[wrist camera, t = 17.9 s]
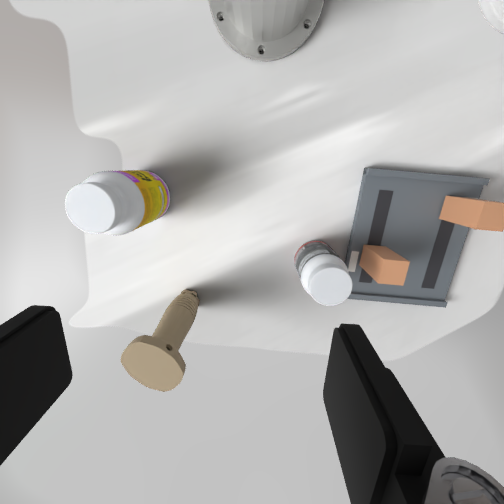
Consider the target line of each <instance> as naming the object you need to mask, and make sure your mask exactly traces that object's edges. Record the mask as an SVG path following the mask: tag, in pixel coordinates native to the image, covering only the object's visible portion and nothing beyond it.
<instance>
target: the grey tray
mask: <svg viewBox="0 0 504 504" xmlns="http://www.w3.org/2000/svg"><path fill="white" fill-rule="evenodd" d="M488 182H489V179H488V178H477V177H466V176H454V175H443V174H431V173H420V172H409V171H397V170H386V169H375V168H364V172H363V177H362V182H361V187H360V192H359V197H358V202H357V207H356V212H355V217H354V222H353V227H352V232H351V237H350V242H349V247H348V252H347V256H346V261H345V265H346V266H347V269H348V272H349V275H350V277H351V279H352V284H353V287H352V291H351V294H350V295H349V297H348V298H347V299H357V300H368V301H379V302H391V303H402V304H413V305H425V306H436V307H446V305H447V302H446V301H445V298H446V295H447V292H448V289H449V286H450V283H451V280H452V277H453V274H454V271H455V268H456V265H457V262H458V259H459V256H460V254H461V251H462V248H463V245H464V242H465V239H466V236H467V233H468V230H469V227H466V226H463V225H459V224H455V223H452V222H448V221H445V220H441V219H439V217H440V214H441V210H442V207H443V204H444V200H445V197H446V196H456V197H467V198H475V199H479V197H480V194H481V191H482V188H483V185H488ZM363 245H375V246H386V247H387V248H389V249H391V250H392V251H394V252H395V253H397V254H399V255H400V256H402V257H403V258H405V259H407V260H408V261H410V264H409V267H408V271H407V274H406V278H405V282H404V285H403V286H401V285H390V284H379V283H377V282H376V281H375V280H374V279H373V278H372V277H371V276H370V275H369V274H368V273H367V272H366V271H365V270H364V269H363V268H362V267H361V266H360V265H359V263H360V259H361V254H362V250H363Z"/></svg>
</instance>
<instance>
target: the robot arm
mask: <svg viewBox="0 0 504 504" xmlns="http://www.w3.org/2000/svg"><path fill="white" fill-rule="evenodd" d="M323 3H324V0H209V5H210V10H211V13H212V16H213V20H214V22H215V24H216V27H217V29H218V31H219V33H220V34H221V36H222V37H223V38H224V40H225V41H226V43H227V44H228V45H229V46H230V47H231V48H233V49H234V50H235V51H236V52H238V53H239V54H241V55H242V56H244V57H247V58H250V59H252V60H257V61H274V60H277V59H280V58H284V57H285V56H287V55H289V54H291V53H293V52H294V51H295V50H296V49H298V48H299V47H300V46H301V45H302V44H303V43H304V42H305V41H306V39H307V38H308V37H309V36H310V34H311V33H312V31H313V29H314V27H315V26H316V24H317V21H318V19H319V16H320V14H321V10H322V7H323ZM221 18H222V19H224V20H223V21H219V20H220V19H221ZM304 26H308V29H306V28H304ZM260 51H263V52H264V53H263V54H260V53H259V52H260ZM71 380H72V370H71V365H70V360H69V355H68V350H67V346H66V341H65V336H64V332H63V327H62V323H61V318H60V314H59V312H57V311H56V310H55V308H54V307H51V306H37V305H34V306H30V307H28V308H27V309H25V310H24V311H22V312H20V313H19V314H17V315H16V316H14V317H13V318H11V319H9V320H8V321H6V322H5V323H3V324H2V325H0V465H1V464H2V463H3V462H4V461H5V460H6V458H7V457H8V456H9V455H10V454H11V452H12V451H13V450H14V449H15V448H16V447H17V445H18V444H19V443H20V442H21V440H23V438H24V437H25V436H26V435H27V434H28V433H29V431H30V430H31V429H32V428H33V427H34V426H35V424H36V423H37V422H38V421H39V420H40V418H41V417H42V416H43V415H44V414H45V413H46V411H47V410H48V409H49V408H50V406H52V404H53V403H54V402H55V401H56V400H57V399H58V397H59V396H60V395H61V394H62V393H63V392H64V390H65V389H66V388H67V387H68V386H69V384H70V382H71ZM323 398H324V403H325V407H326V411H327V415H328V418H329V422H330V426H331V430H332V434H333V437H334V441H335V445H336V448H337V453H338V456H339V460H340V464H341V468H342V472H343V475H344V479H345V483H346V487H347V490H348V494H349V498H350V502H351V504H504V487H503V486H502V485H501V484H500V483H499V482H498V481H497V480H495V479H494V478H493V477H492V476H491V475H489V474H488V473H487V472H485V471H484V470H482V469H480V468H479V467H478V466H476V465H473V464H471V463H469V462H467V461H465V460H462V459H458V458H454V457H450V458H449V457H448V458H446V457H445V456H444V454H443V453H442V451H441V449H440V448H439V446H438V445H437V443H436V442H435V440H434V438H433V437H432V435H431V434H430V432H429V430H428V429H427V427H426V425H425V424H424V422H423V421H422V419H421V417H420V416H419V414H418V413H417V411H416V409H415V408H414V406H413V405H412V403H411V401H410V400H409V398H408V397H407V395H406V393H405V392H404V390H403V388H402V387H401V385H400V384H399V382H398V381H397V379H396V377H395V376H394V374H393V373H392V372H391V370H390V369H388V368H385V366H384V365H383V363H382V361H381V360H380V358H379V356H378V355H377V353H376V351H375V350H374V348H373V346H372V345H371V343H370V341H369V340H368V338H367V336H366V335H365V333H364V331H363V330H362V328H361V327H360V325H356V324H341V325H340V327H339V328H335V329H334V332H333V338H332V343H331V349H330V355H329V361H328V366H327V372H326V378H325V383H324V390H323Z"/></svg>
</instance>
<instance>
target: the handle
mask: <svg viewBox="0 0 504 504" xmlns="http://www.w3.org/2000/svg"><path fill="white" fill-rule="evenodd" d="M199 301H200V300H199V299H198V297H197V293H196V292H195V291H188V290H183V291H182V292H181V294H180V295H178V296H177V297H176V298H175V299H174V300H173V301H172V302H171V304H170V305H169V306H168V308H167V309H166V311H165V313H164V315H163V316H162V318H161V320H160V322H159V324H158V326H157V328H156V330H155V332H154V333H153V335H152V336H147V335H143V336H139V337H137V338H136V339H134V340H133V341H132V342H131V343H130V344H129V345H128V346H127V348H126V349H125V350H124V352H123V354H122V356H121V363H122V365H123V366H124V368H125V369H126V371H127V372H128V373H129V375H130V376H131V377H133V378H134V379H135V380H137V381H138V382H139V383H141V384H143V385H144V386H146V387H148V388H151V389H155V390H159V391H163V392H165V391H169V390H172V389H173V388H175V387H176V386H177V385H178V384H179V383H180V382H181V380H182V378H183V375H184V372H185V366H186V365H185V362H184V360H183V358H182V356H181V355H180V353H179V352H178V350H179V348H180V346H181V344H182V342H183V340H184V338H185V337H186V335H187V333H188V331H189V330H190V328H191V326H192V324H193V322H194V319H195V317H196V313H197V309H198V306H199Z"/></svg>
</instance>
